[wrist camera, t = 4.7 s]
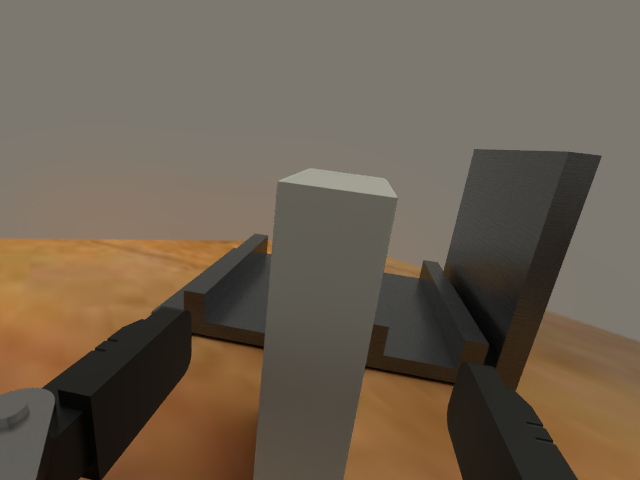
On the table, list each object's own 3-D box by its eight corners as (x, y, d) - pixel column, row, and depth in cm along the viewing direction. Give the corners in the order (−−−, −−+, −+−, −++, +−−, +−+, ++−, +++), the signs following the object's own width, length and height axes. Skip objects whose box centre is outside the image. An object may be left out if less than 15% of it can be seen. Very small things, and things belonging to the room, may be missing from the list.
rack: (452, 290, 33) (489, 151, 29) (514, 394, 19) (601, 155, 15) (235, 255, 35) (241, 120, 31) (151, 325, 22) (144, 99, 18)
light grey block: (342, 420, 16) (385, 178, 13) (332, 535, 11) (398, 197, 8) (283, 408, 16) (309, 168, 13) (250, 515, 12) (277, 180, 8)
